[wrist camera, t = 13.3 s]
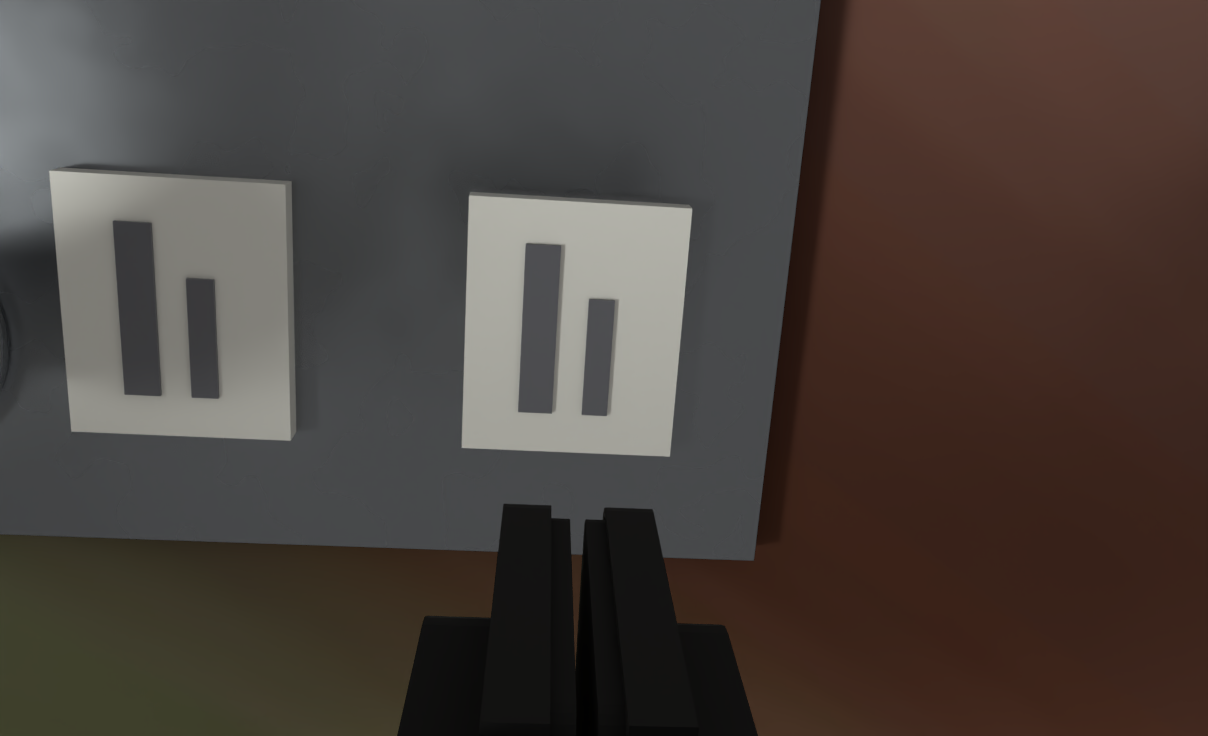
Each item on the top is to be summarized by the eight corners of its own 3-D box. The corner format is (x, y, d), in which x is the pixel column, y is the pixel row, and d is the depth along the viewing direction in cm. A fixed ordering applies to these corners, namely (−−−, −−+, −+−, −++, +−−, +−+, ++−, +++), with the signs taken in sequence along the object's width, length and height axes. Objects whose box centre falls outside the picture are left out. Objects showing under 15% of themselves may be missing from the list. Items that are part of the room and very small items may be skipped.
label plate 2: (667, 447, 26) (670, 458, 25) (463, 439, 26) (461, 449, 25) (689, 204, 24) (692, 209, 24) (471, 191, 24) (468, 195, 23)
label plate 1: (296, 431, 25) (289, 442, 25) (82, 422, 25) (69, 433, 24) (291, 181, 24) (284, 184, 23) (61, 167, 23) (47, 171, 23)
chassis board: (747, 546, 28) (753, 560, 27) (-207, 512, 26) (-231, 526, 25) (849, -320, 22) (860, -333, 21) (-370, -437, 20) (-406, -456, 20)
